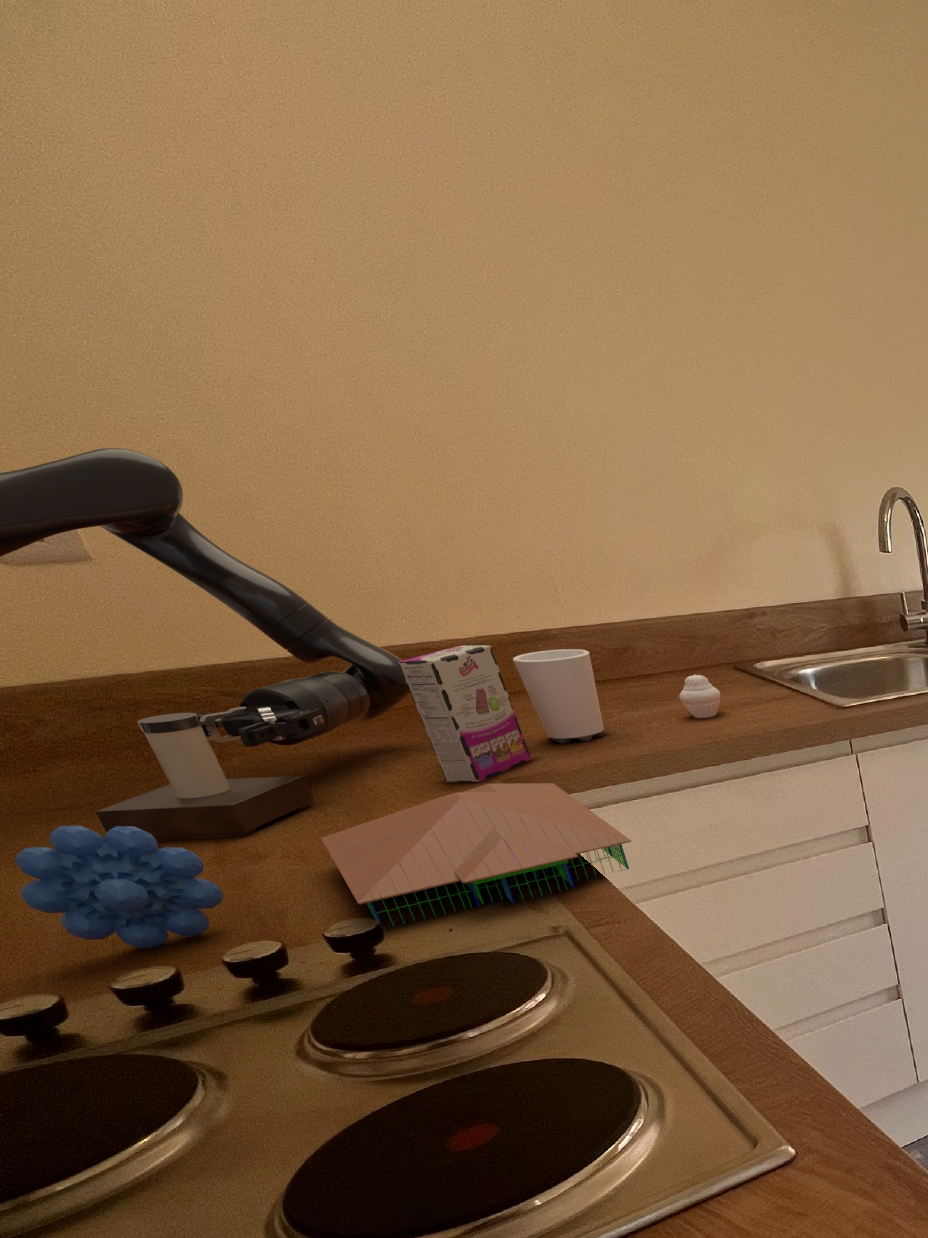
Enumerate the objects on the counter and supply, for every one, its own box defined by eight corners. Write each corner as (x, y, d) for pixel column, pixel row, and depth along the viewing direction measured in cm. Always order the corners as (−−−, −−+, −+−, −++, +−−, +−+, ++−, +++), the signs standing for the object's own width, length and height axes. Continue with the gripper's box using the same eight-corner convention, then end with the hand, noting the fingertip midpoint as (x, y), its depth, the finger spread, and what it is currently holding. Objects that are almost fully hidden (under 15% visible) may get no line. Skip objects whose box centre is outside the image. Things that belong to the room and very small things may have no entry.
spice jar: (163, 800, 122) (124, 723, 118) (196, 787, 126) (160, 713, 122) (211, 797, 122) (174, 721, 118) (242, 785, 127) (208, 711, 123)
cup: (596, 727, 168) (572, 646, 162) (625, 736, 163) (601, 653, 157) (528, 740, 161) (500, 656, 155) (556, 749, 156) (528, 663, 150)
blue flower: (60, 983, 88) (-21, 851, 83) (65, 958, 93) (-11, 831, 87) (242, 942, 96) (179, 818, 90) (239, 920, 100) (179, 801, 95)
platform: (112, 844, 120) (94, 811, 118) (193, 812, 130) (177, 781, 128) (248, 837, 122) (232, 804, 120) (316, 805, 132) (303, 775, 130)
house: (377, 944, 95) (340, 861, 91) (327, 856, 116) (296, 785, 112) (648, 875, 109) (626, 801, 106) (561, 808, 130) (540, 744, 127)
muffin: (700, 711, 178) (689, 670, 174) (733, 712, 177) (723, 670, 174) (676, 720, 172) (665, 677, 169) (710, 721, 171) (699, 678, 168)
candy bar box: (499, 760, 150) (458, 644, 143) (533, 760, 150) (493, 644, 143) (442, 783, 140) (395, 660, 133) (478, 783, 140) (433, 659, 133)
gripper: (225, 683, 137) (122, 711, 122) (344, 679, 138) (257, 706, 124) (250, 740, 140) (153, 773, 126) (367, 735, 142) (284, 767, 127)
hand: (205, 740), depth 125 cm, fingers open, 8 cm apart
